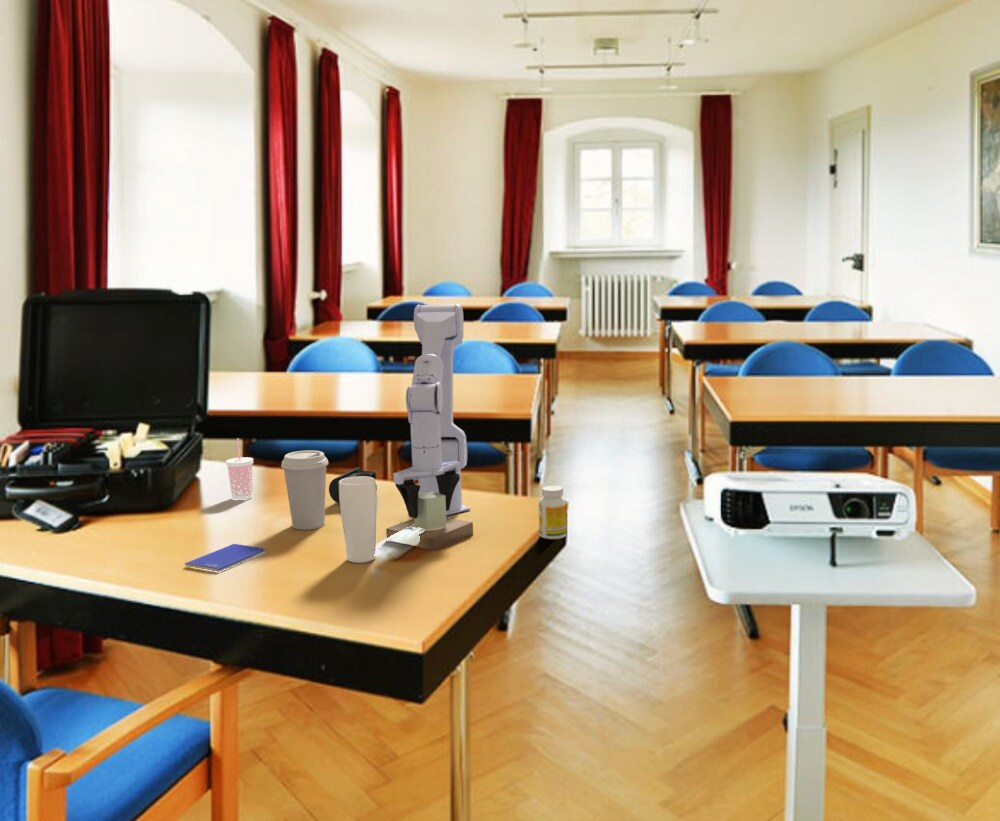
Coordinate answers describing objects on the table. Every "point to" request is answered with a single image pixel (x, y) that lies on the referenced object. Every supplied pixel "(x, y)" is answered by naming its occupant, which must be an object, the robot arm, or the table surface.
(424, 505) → the block
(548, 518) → the supplement bottle
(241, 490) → the beverage cup
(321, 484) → the coffee cup
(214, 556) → the blue notebook
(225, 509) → the table surface
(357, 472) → the end cap
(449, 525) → the plinth
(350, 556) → the drinking glass
